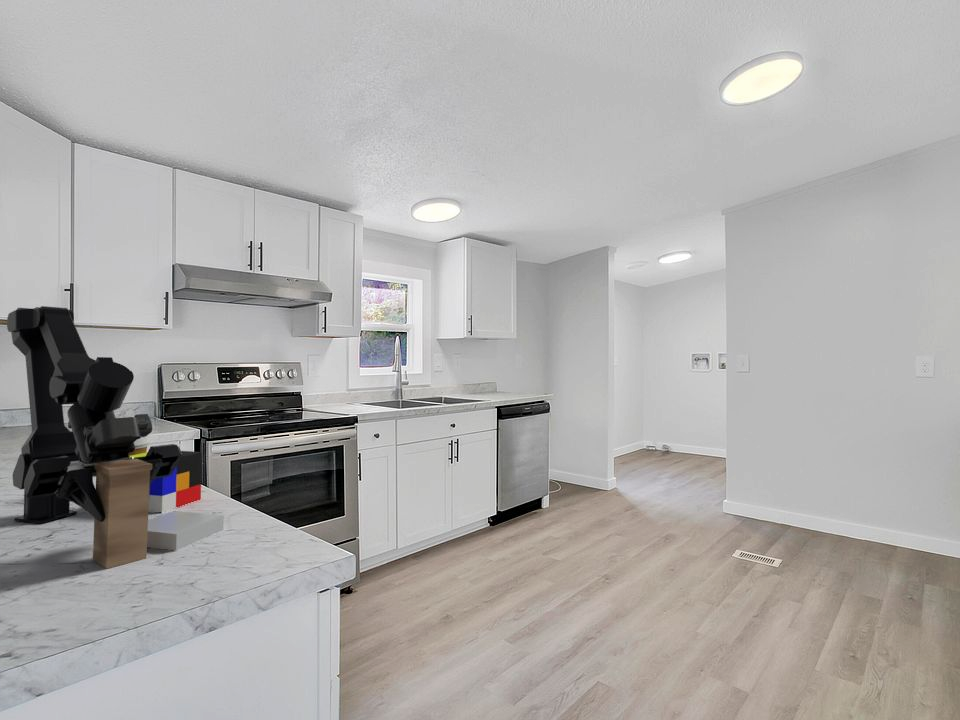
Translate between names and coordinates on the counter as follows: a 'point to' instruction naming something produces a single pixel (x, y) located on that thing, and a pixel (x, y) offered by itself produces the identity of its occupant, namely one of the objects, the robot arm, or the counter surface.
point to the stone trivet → (181, 529)
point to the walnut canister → (122, 512)
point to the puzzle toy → (177, 484)
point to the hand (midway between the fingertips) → (124, 515)
